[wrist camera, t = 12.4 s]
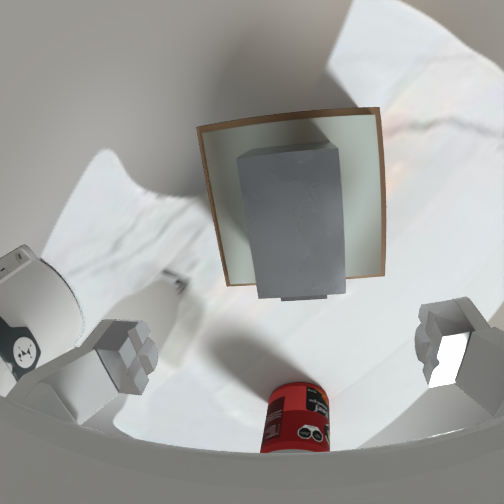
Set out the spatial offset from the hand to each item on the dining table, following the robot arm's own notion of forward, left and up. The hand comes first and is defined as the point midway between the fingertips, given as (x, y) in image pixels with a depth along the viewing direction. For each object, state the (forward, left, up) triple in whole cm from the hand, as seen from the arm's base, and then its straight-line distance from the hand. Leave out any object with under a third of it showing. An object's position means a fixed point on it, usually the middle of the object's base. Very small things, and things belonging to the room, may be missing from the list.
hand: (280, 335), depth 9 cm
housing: (0, 0, -13) cm, 13 cm away
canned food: (-2, -28, -21) cm, 35 cm away
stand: (0, 0, -20) cm, 20 cm away
